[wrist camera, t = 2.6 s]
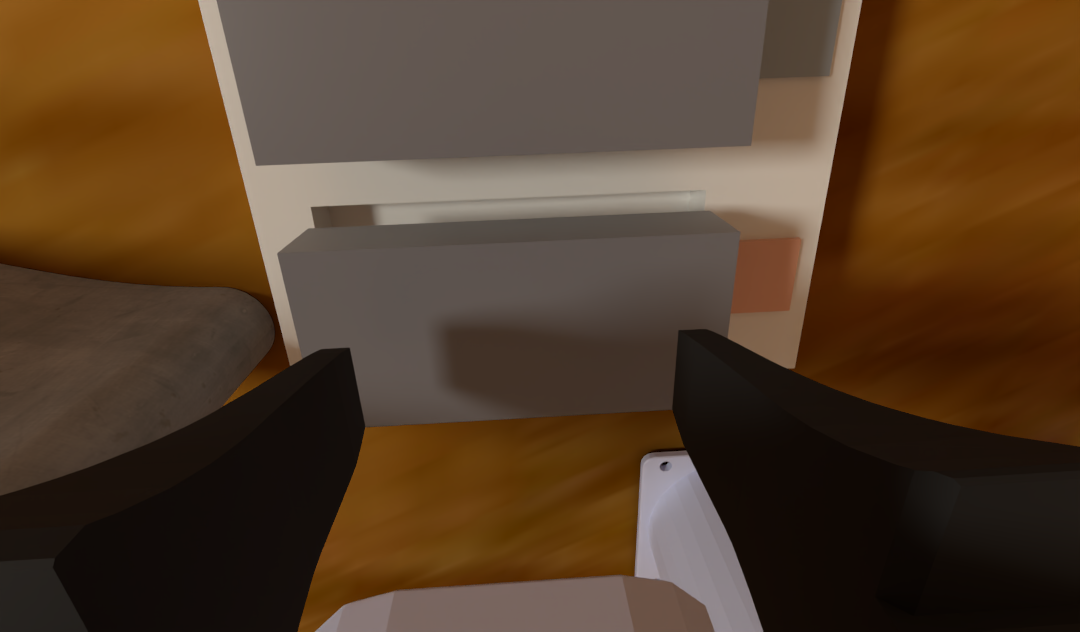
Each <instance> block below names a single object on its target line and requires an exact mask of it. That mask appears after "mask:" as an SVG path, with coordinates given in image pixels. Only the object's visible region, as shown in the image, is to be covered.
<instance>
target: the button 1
mask: <svg viewBox="0 0 1080 632" xmlns="http://www.w3.org/2000/svg"><path fill="white" fill-rule="evenodd" d="M740 233H741V232H740V231H738V230H737V229H735V228H734V227H733V226H731V225H730V224H728V223H727V222H725V221H724V220H723V219H721V218H720V217H718V216H717V215H716V214H714V213H713V212H711V211H689V212H667V213H644V214H622V215H599V216H577V217H554V218H532V219H509V220H487V221H464V222H442V223H419V224H397V225H374V226H352V227H329V228H308V229H307V230H306V231H304V232H303V233H302V234H301V235H299V236H298V237H297V238H296V239H294V240H293V241H292V242H291V243H289V244H288V245H287V246H286V247H284V248H283V249H282V250H281V251H279V252H278V253H277V256H278V260H279V264H280V268H281V272H282V277H283V281H284V285H285V289H286V293H287V297H288V302H289V306H290V310H291V314H292V318H293V322H294V327H295V331H296V335H297V339H298V343H299V348H300V352H301V356H302V359H303V358H305V357H306V356H308V355H310V354H312V353H314V352H316V351H318V350H320V349H332V348H350V351H351V356H352V361H353V366H354V371H355V376H356V381H357V386H358V392H359V397H360V402H361V407H362V412H363V417H364V422H365V427H377V426H395V425H412V424H430V423H447V422H465V421H482V420H500V419H517V418H535V417H552V416H570V415H587V414H605V413H622V412H640V411H657V410H672V404H673V392H674V379H675V367H676V355H677V342H678V330H694V329H708V330H710V331H713V332H715V333H718V334H720V335H722V336H724V337H726V338H728V331H729V323H730V314H731V306H732V298H733V290H734V282H735V274H736V265H737V257H738V249H739V241H740Z"/></svg>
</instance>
